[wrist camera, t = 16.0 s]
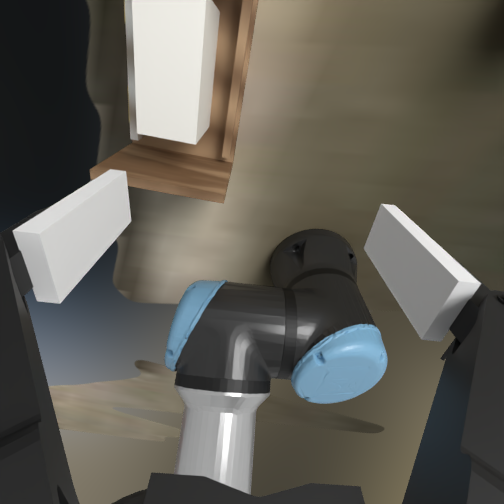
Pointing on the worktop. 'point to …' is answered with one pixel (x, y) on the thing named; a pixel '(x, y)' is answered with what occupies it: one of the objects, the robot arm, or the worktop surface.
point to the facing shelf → (220, 128)
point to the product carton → (174, 66)
